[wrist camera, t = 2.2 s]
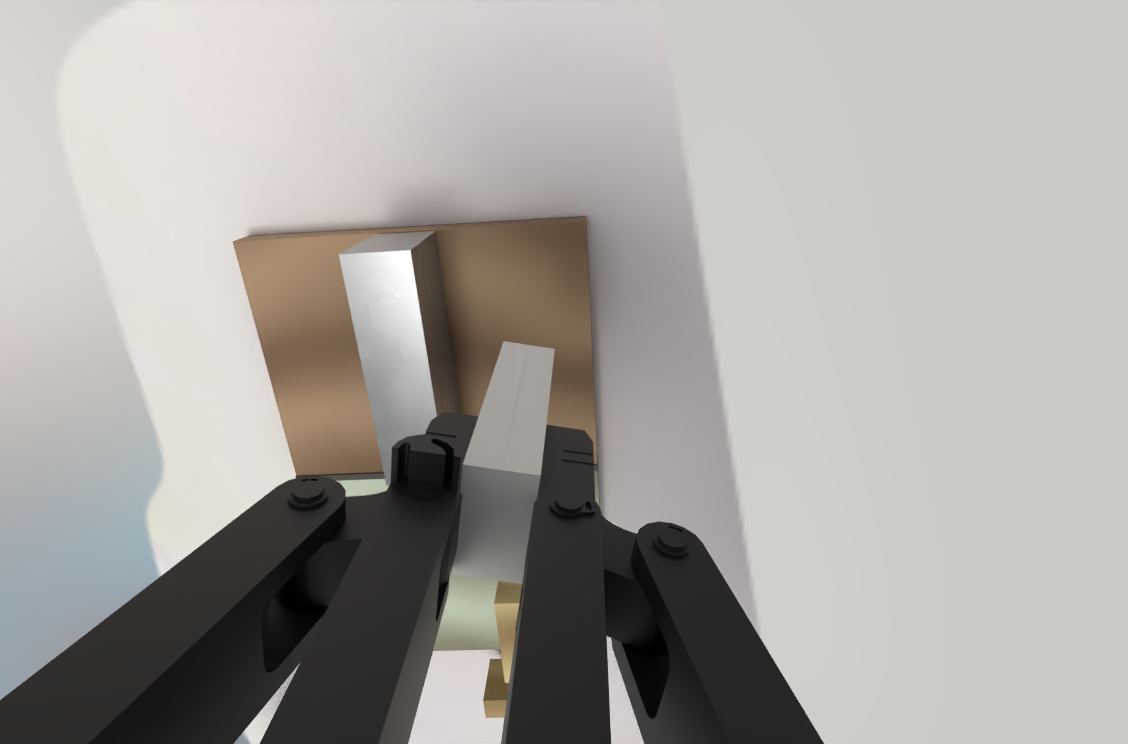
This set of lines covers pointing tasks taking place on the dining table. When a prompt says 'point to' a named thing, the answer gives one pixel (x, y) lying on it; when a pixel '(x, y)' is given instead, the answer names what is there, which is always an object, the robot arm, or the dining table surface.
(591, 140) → the dining table surface
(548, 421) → the door board
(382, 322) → the bar
